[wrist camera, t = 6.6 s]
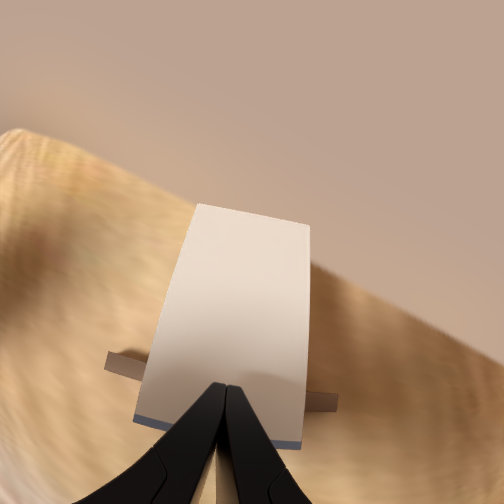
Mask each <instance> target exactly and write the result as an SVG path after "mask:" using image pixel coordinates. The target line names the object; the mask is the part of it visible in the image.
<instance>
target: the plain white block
mask: <svg viewBox="0 0 504 504" xmlns="http://www.w3.org/2000/svg"><path fill="white" fill-rule="evenodd" d="M309 314H310V225H305V224H301V223H296V222H291V221H287V220H282V219H277V218H272V217H267V216H262V215H257V214H252V213H247V212H242V211H237V210H231V209H227V208H221V207H216V206H210V205H205V204H199V203H198V204H197V207H196V209H195V212H194V215H193V218H192V220H191V223H190V226H189V229H188V232H187V234H186V237H185V240H184V243H183V246H182V249H181V252H180V255H179V258H178V261H177V264H176V267H175V270H174V273H173V276H172V279H171V282H170V285H169V288H168V292H167V295H166V298H165V301H164V304H163V308H162V311H161V314H160V318H159V321H158V325H157V328H156V332H155V335H154V339H153V342H152V346H151V350H150V353H149V357H148V361H147V365H146V368H145V372H144V376H143V380H142V384H141V388H140V392H139V397H138V401H137V405H136V409H135V414H134V418H133V422H135V423H138V424H141V425H145V426H148V427H151V428H155V429H159V430H163V431H168V430H169V429H170V428H171V427H172V426H173V425H174V423H175V422H176V421H177V420H178V419H179V418H180V417H181V416H182V415H183V414H184V413H185V412H186V411H187V410H188V409H189V407H190V406H191V405H192V404H193V403H194V402H195V401H196V400H197V399H198V398H199V397H200V396H201V394H202V393H203V392H204V391H205V390H206V389H207V388H208V387H209V386H210V384H211V383H212V382H219V383H224V384H226V385H229V384H230V385H236V386H240V387H241V388H242V389H243V391H244V393H245V395H246V397H247V399H248V401H249V403H250V404H251V406H252V408H253V410H254V412H255V414H256V415H257V417H258V419H259V421H260V423H261V424H262V426H263V428H264V430H265V432H266V433H267V435H268V437H269V439H270V440H271V442H272V444H273V445H274V447H275V449H290V450H301V442H302V432H303V421H304V409H305V396H306V381H307V364H308V343H309Z"/></svg>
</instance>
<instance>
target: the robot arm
mask: <svg viewBox="0 0 504 504" xmlns="http://www.w3.org/2000/svg"><path fill="white" fill-rule="evenodd" d="M216 444H217V445H216ZM215 449H216V504H312V503H311V501H310V500H309V499H308V498H307V497H306V495H305V494H304V493H303V492H302V490H301V489H300V487H299V486H298V484H297V483H296V481H295V480H294V479H293V477H292V475H291V474H290V472H289V470H288V469H287V468H286V466H285V464H284V462H283V461H282V459H281V457H280V456H279V454H278V452H277V451H276V449H275V447H274V445H273V444H272V442H271V440H270V439H269V437H268V435H267V433H266V432H265V430H264V428H263V426H262V424H261V423H260V421H259V419H258V417H257V415H256V414H255V412H254V410H253V408H252V406H251V404H250V403H249V401H248V399H247V397H246V395H245V393H244V391H243V389H242V388H241V387H240V386H236V385H230V384H229V385H226V384H224V383H219V382H212V383H211V384H210V386H209V387H208V388H207V389H206V390H205V391H204V392H203V393H202V394H201V396H200V397H199V398H198V399H197V400H196V401H195V402H194V403H193V404H192V405H191V406H190V407H189V409H188V410H187V411H186V412H185V413H184V414H183V415H182V416H181V417H180V418H179V419H178V420H177V421H176V422H175V423H174V425H173V426H172V427H171V428H170V429H169V430H168V431H167V432H166V433H165V434H164V435H163V436H162V437H161V438H160V439H159V440H158V441H157V442H156V443H155V444H154V445H153V447H151V448H150V449H149V450H148V451H147V452H146V453H145V454H144V455H143V456H142V457H141V458H140V459H139V460H138V461H136V462H135V463H134V464H133V465H132V466H131V467H129V468H128V469H127V470H125V471H124V472H123V473H121V474H120V475H119V476H117V477H116V478H114V479H113V480H111V481H110V482H108V483H107V484H105V485H104V486H102V487H101V488H99V489H98V490H96V491H94V492H93V493H91V494H90V495H88V496H86V497H85V498H83V499H81V500H79V501H77V502H75V503H72V504H198V503H199V500H200V497H201V494H202V491H203V488H204V485H205V481H206V478H207V475H208V472H209V469H210V466H211V462H212V459H213V456H214V452H215Z"/></svg>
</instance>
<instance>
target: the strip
mask: <svg viewBox="0 0 504 504" xmlns="http://www.w3.org/2000/svg"><path fill="white" fill-rule="evenodd" d="M146 365H147V363H146V362H143V361H139V360H136V359H132V358H129V357H126V356H122V355H119V354H116V353H113V352H110V351H108V355H107V359H106V363H105V367H104V369H105V370H108V371H110V372H113V373H117V374H120V375H123V376H126V377H129V378H132V379H136V380H139V381H142V380H143V376H144V372H145V368H146ZM337 401H338V394H331V393H316V392H306V396H305V409H304V410H305V411H322V412H336V410H337Z"/></svg>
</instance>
